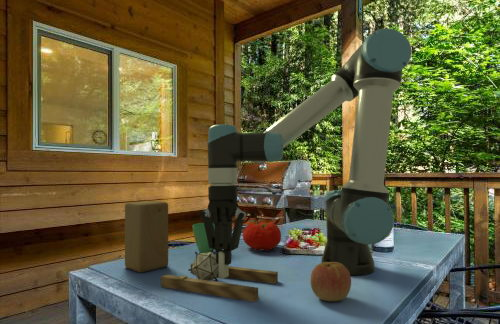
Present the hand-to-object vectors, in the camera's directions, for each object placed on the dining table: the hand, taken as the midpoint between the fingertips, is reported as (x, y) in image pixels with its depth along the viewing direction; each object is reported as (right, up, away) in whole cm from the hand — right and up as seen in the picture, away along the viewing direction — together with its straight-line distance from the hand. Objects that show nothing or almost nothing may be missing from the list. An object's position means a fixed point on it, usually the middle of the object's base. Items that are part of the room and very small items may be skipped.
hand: (223, 276), depth 84 cm
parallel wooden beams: (0, -2, +2) cm, 3 cm away
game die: (-5, -2, +2) cm, 6 cm away
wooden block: (-25, -3, +17) cm, 31 cm away
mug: (-10, -4, +38) cm, 39 cm away
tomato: (+12, -4, +40) cm, 42 cm away
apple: (+25, -2, -10) cm, 27 cm away
